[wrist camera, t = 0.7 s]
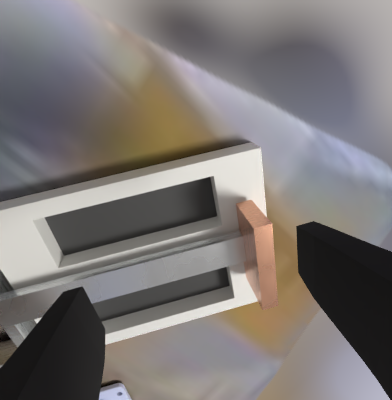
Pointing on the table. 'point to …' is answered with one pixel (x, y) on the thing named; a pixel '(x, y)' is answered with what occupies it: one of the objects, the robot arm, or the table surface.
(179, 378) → the table surface
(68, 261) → the pit board
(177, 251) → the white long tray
